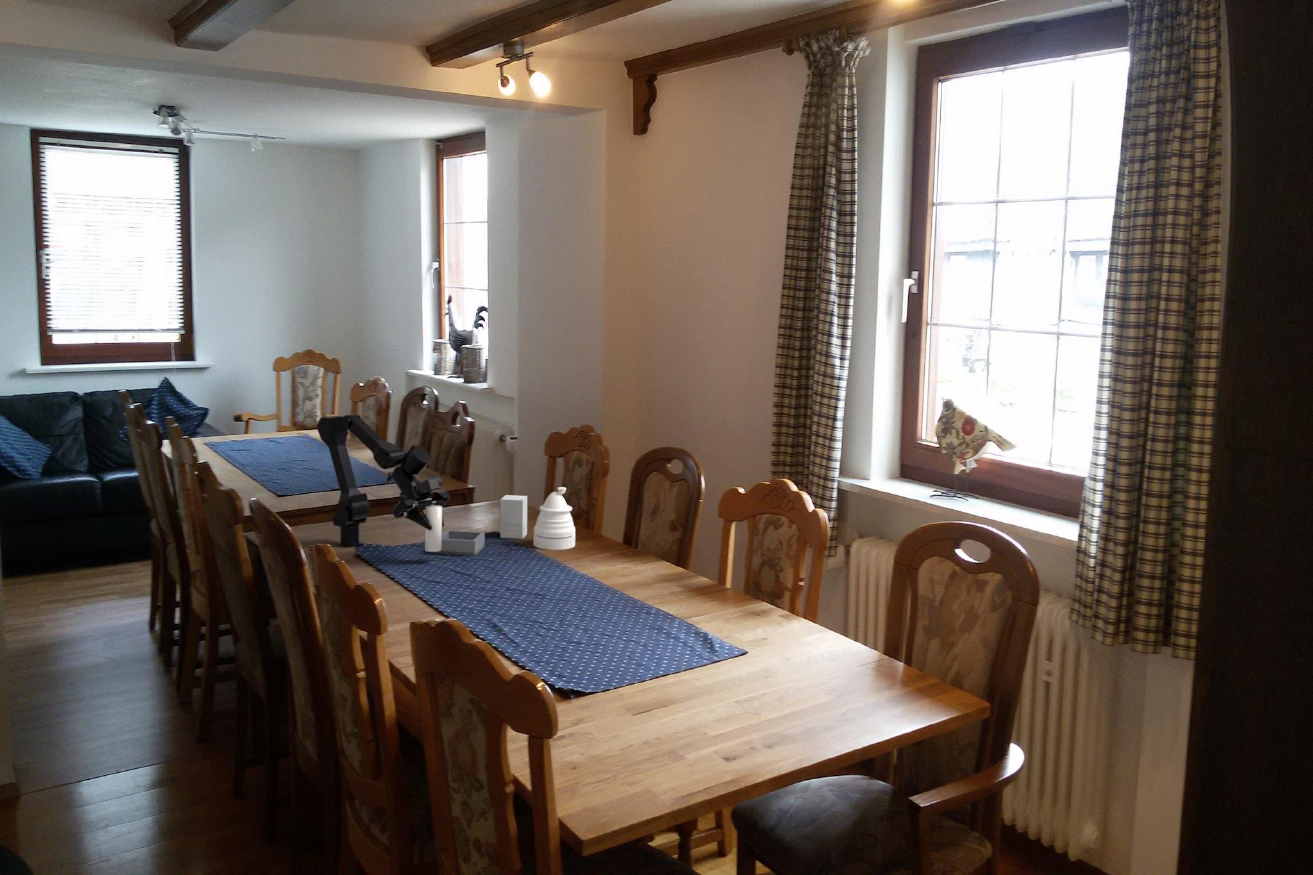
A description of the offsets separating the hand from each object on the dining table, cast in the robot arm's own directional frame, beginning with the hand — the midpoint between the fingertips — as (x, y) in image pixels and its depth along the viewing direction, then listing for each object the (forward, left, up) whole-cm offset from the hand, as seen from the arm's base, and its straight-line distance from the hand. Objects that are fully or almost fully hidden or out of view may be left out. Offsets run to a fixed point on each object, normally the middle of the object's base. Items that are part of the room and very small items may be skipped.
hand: (437, 527), depth 298 cm
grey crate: (-9, +12, -10) cm, 19 cm away
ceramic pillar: (-1, -1, -7) cm, 7 cm away
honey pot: (-1, +40, -10) cm, 42 cm away
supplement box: (-17, +35, -10) cm, 41 cm away
